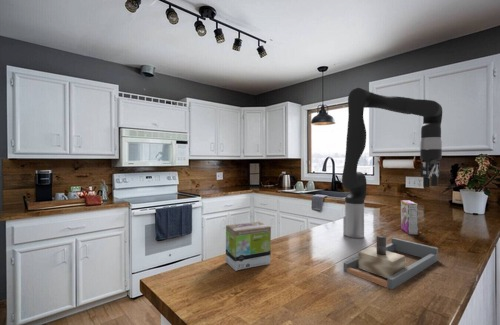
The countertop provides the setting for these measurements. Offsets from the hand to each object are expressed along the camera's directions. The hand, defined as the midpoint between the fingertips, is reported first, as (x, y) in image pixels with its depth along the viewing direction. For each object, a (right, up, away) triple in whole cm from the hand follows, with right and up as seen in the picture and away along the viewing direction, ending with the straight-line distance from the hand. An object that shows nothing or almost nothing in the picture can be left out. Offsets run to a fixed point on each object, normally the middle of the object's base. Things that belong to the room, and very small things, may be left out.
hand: (430, 186), depth 112 cm
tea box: (-78, -29, -10) cm, 84 cm away
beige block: (-30, -29, -19) cm, 46 cm away
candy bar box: (+10, -28, +31) cm, 43 cm away
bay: (-24, -29, -14) cm, 40 cm away
